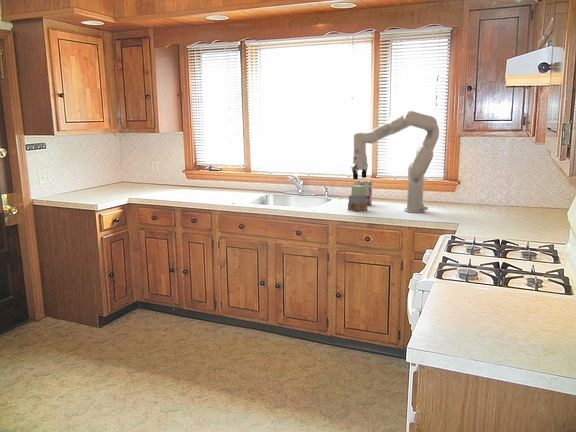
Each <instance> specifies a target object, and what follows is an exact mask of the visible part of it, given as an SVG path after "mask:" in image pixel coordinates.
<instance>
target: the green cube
mask: <svg viewBox="0 0 576 432" xmlns="http://www.w3.org/2000/svg"><path fill="white" fill-rule="evenodd" d="M351 195H353V196H363V195H365V186H361V185H355V184H354V185H352V186H351Z"/></svg>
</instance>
